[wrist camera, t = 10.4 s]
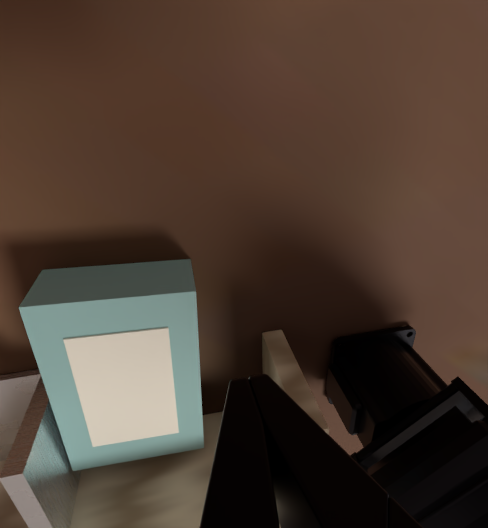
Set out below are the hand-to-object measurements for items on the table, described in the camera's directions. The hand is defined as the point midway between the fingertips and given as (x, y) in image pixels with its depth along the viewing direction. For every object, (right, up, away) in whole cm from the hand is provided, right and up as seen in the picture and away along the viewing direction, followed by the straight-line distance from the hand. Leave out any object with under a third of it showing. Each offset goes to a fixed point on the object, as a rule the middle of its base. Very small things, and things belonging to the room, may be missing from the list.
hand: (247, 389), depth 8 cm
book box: (-7, -2, +15) cm, 17 cm away
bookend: (-15, -7, +15) cm, 22 cm away
